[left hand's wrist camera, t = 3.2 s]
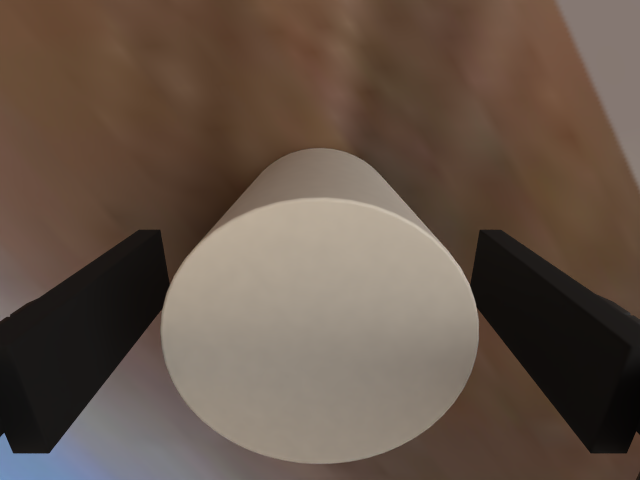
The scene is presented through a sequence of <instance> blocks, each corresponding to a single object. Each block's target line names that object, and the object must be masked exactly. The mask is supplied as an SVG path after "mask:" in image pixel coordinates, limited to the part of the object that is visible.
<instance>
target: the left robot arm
mask: <svg viewBox="0 0 640 480" xmlns="http://www.w3.org/2000/svg"><path fill="white" fill-rule="evenodd" d="M169 286H170V284H169V279H168V273H167V267H166V261H165V255H164V249H163V243H162V238H161V232H160V230H138V231H137V232H135V233H134V234H132V235H131V236H129V237H128V238H126V239H125V240H123V241H122V242H121V243H119V244H118V245H116V246H115V247H113V248H112V249H110V250H109V251H107V252H106V253H104V254H103V255H101V256H100V257H98V258H97V259H96V260H94V261H93V262H91V263H90V264H88V265H87V266H85V267H84V268H82V269H81V270H79V271H78V272H76V273H75V274H74V275H72V276H71V277H69V278H68V279H66V280H65V281H63V282H62V283H60V284H59V285H57V286H56V287H54V288H53V289H51V290H50V291H49V292H47V293H46V294H44V295H43V296H41V297H40V298H38V299H36V300H34V301H31V302H29V303H27V304H25V305H24V306H22V307H21V308H19V309H18V310H16V311H15V312H13V313H12V314H10V317H6V318H5V319H3V320H2V321H0V437H1V435H2V434H3V433H5V435H6V437H7V440H8V442H9V444H10V447H11V449H12V451H13V453H50V452H51V450H52V449H53V448H54V446H55V445H56V444H57V443H58V441H59V440H60V439H61V437H62V436H63V435H64V434H65V432H66V431H67V430H68V429H69V427H70V426H71V425H72V423H73V422H74V421H75V420H76V418H77V417H78V416H79V414H80V413H81V412H82V411H83V409H84V408H85V407H86V405H87V404H88V403H89V402H90V400H91V399H92V398H93V397H94V395H95V394H96V393H97V391H98V390H99V389H100V388H101V386H102V385H103V384H104V382H105V381H106V380H107V379H108V377H109V376H110V375H111V373H112V372H113V371H114V370H115V368H116V367H117V366H118V365H119V363H120V362H121V361H122V359H123V358H124V357H125V356H126V354H127V353H128V352H129V350H130V349H131V348H132V347H133V345H134V344H135V343H136V342H137V340H138V339H139V338H140V336H141V335H142V334H143V333H144V331H145V330H146V329H147V327H148V326H149V325H150V324H151V322H152V321H153V320H154V318H155V317H156V316H157V315H158V313H159V312H160V311H161V310H162V308H163V305H164V301H165V297H166V293H167V291H168V288H169ZM470 287H471V290H472V293H473V296H474V299H475V302H476V307H477V308H478V310H479V311H480V312H481V313H482V315H483V316H484V317H485V318H486V320H487V321H488V322H489V324H490V325H491V326H492V327H493V329H494V330H495V331H496V333H497V334H498V335H499V336H500V338H501V339H502V340H503V342H504V343H505V344H506V345H507V347H508V348H509V349H510V350H511V352H512V353H513V354H514V356H515V357H516V358H517V359H518V361H519V362H520V363H521V365H522V366H523V367H524V368H525V370H526V371H527V372H528V374H529V375H530V376H531V377H532V379H533V380H534V381H535V382H536V384H537V385H538V386H539V388H540V389H541V390H542V391H543V393H544V394H545V395H546V397H547V398H548V399H549V400H550V402H551V403H552V404H553V405H554V407H555V408H556V409H557V411H558V412H559V413H560V414H561V416H562V417H563V418H564V420H565V421H566V422H567V423H568V425H569V426H570V427H571V429H572V430H573V431H574V432H575V434H576V435H577V436H578V437H579V439H580V440H581V441H582V443H583V444H584V445H585V446H586V448H587V449H588V450H589V452H590V453H627V451H628V449H629V447H630V444H631V442H632V440H633V437H634V435H635V433H636V431H637V432H638V433H639V434H640V319H638V318H637V317H635V316H631V315H630V313H629V312H628V311H626V310H625V309H623V308H622V307H620V306H619V305H617V304H616V303H614V302H612V301H610V300H608V299H605V298H603V297H601V296H599V295H596V294H594V293H593V292H591V291H590V290H589V289H587V288H586V287H584V286H583V285H581V284H580V283H578V282H577V281H575V280H574V279H572V278H571V277H569V276H568V275H566V274H565V273H564V272H562V271H561V270H559V269H558V268H556V267H555V266H553V265H552V264H550V263H549V262H547V261H546V260H544V259H543V258H542V257H540V256H539V255H537V254H536V253H534V252H533V251H531V250H530V249H528V248H527V247H525V246H524V245H522V244H521V243H519V242H518V241H517V240H515V239H514V238H512V237H511V236H509V235H508V234H506V233H505V232H503V231H502V230H480V232H479V237H478V243H477V249H476V255H475V261H474V267H473V273H472V279H471V284H470ZM636 480H640V472H639V475H638V477H637V479H636Z"/></svg>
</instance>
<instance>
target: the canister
mask: <svg viewBox="0 0 640 480" xmlns="http://www.w3.org/2000/svg"><path fill="white" fill-rule="evenodd" d="M160 332H161V347H162V352H163V356H164V361H165V365H166V367H167V370H168V372H169V375H170V377H171V380H172V382H173V384H174V385H175V387H176V389H177V391H178V393H179V394H180V396H181V397H182V398H183V400H184V401H185V402H186V404H187V405H188V406H189V408H190V409H191V410H192V411H193V412H194V413H195V414H196V415H197V416H198V417H199V418H200V419H201V420H202V421H203V422H204V423H205V424H207V425H208V426H209V427H210V428H212V429H213V430H214V431H215V432H217V433H218V434H220V435H221V436H223V437H225V438H226V439H228V440H229V441H231V442H233V443H235V444H237V445H239V446H241V447H243V448H245V449H247V450H250V451H253V452H255V453H258V454H261V455H264V456H267V457H271V458H275V459H279V460H284V461H290V462H296V463H308V464H333V463H342V462H350V461H355V460H360V459H365V458H369V457H372V456H375V455H378V454H381V453H385V452H387V451H389V450H392V449H394V448H396V447H399V446H401V445H403V444H404V443H406V442H408V441H410V440H412V439H413V438H415V437H417V436H418V435H419V434H421V433H422V432H424V431H425V430H427V429H428V428H429V427H431V426H432V425H433V424H434V423H435V422H436V421H437V420H438V419H439V418H441V417H442V416H443V415H444V414H445V412H446V411H447V410H448V409H449V408H450V407H451V405H452V404H453V403H454V402H455V400H456V399H457V397H458V396H459V394H460V393H461V391H462V390H463V388H464V386H465V384H466V382H467V380H468V378H469V376H470V374H471V371H472V368H473V365H474V362H475V358H476V353H477V347H478V341H479V320H478V314H477V308H476V302H475V299H474V296H473V293H472V290H471V287H470V285H469V283H468V281H467V279H466V277H465V275H464V273H463V271H462V269H461V268H460V266H459V265H458V263H457V262H456V261H455V259H454V258H453V257H452V255H451V254H450V253H449V251H448V250H447V249H446V248H445V247H444V246H443V245H442V244H441V242H440V241H439V240H438V239H437V238H436V237H435V236H434V235H433V233H432V232H431V231H430V230H429V229H428V228H427V227H426V226H425V225H424V223H423V222H422V221H421V220H420V219H419V218H418V217H417V216H416V214H415V213H414V212H413V211H412V210H411V209H410V208H409V207H408V205H407V204H406V203H405V202H404V201H403V200H402V199H401V198H400V197H399V195H398V194H397V193H396V192H395V191H394V190H393V189H392V188H391V186H390V185H389V184H388V183H387V182H386V181H385V180H384V179H383V177H382V176H381V175H380V174H379V173H378V172H377V171H376V170H375V169H374V168H373V167H371V166H370V165H369V164H367V163H366V162H365V161H363V160H361V159H360V158H358V157H356V156H354V155H351V154H349V153H346V152H343V151H339V150H335V149H327V148H311V149H305V150H300V151H296V152H293V153H290V154H288V155H286V156H284V157H281V158H280V159H278V160H276V161H275V162H273V163H272V164H270V165H269V166H268V167H267V168H266V169H265V170H263V171H262V173H261V174H260V175H259V176H258V177H257V178H256V179H255V180H254V182H253V183H252V184H251V185H250V186H249V187H248V188H247V189H246V191H245V192H244V193H243V194H242V195H241V196H240V197H239V198H238V200H237V201H236V202H235V203H234V204H233V205H232V206H231V207H230V209H229V210H228V211H227V212H226V213H225V214H224V215H223V216H222V217H221V219H220V220H219V221H218V222H217V223H216V224H215V225H214V226H213V228H212V229H211V230H210V231H209V232H208V233H207V234H206V235H205V237H204V238H203V239H202V240H201V241H200V242H199V243H198V244H197V246H196V247H195V248H194V249H193V250H192V251H191V252H190V253H189V255H188V256H187V257H186V258H185V259H184V261H183V262H182V264H181V266H180V267H179V269H178V270H177V272H176V273H175V275H174V277H173V279H172V282H171V284H170V286H169V288H168V291H167V293H166V297H165V301H164V305H163V309H162V316H161V327H160Z"/></svg>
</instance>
